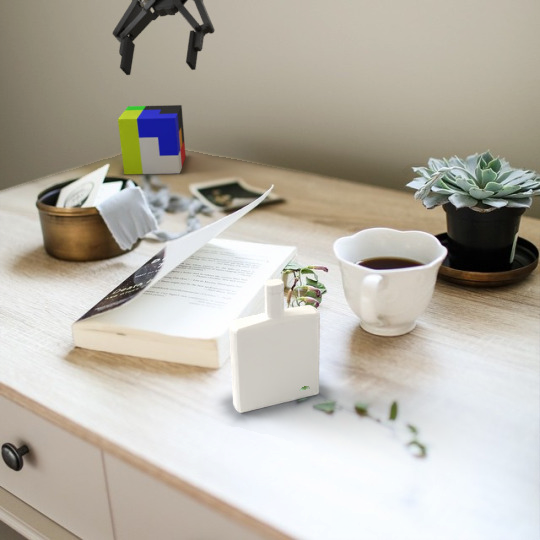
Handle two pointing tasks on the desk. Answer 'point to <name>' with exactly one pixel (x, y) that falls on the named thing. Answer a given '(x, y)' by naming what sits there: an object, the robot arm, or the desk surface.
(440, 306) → the desk surface
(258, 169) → the desk surface
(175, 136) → the puzzle toy
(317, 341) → the perfume bottle
